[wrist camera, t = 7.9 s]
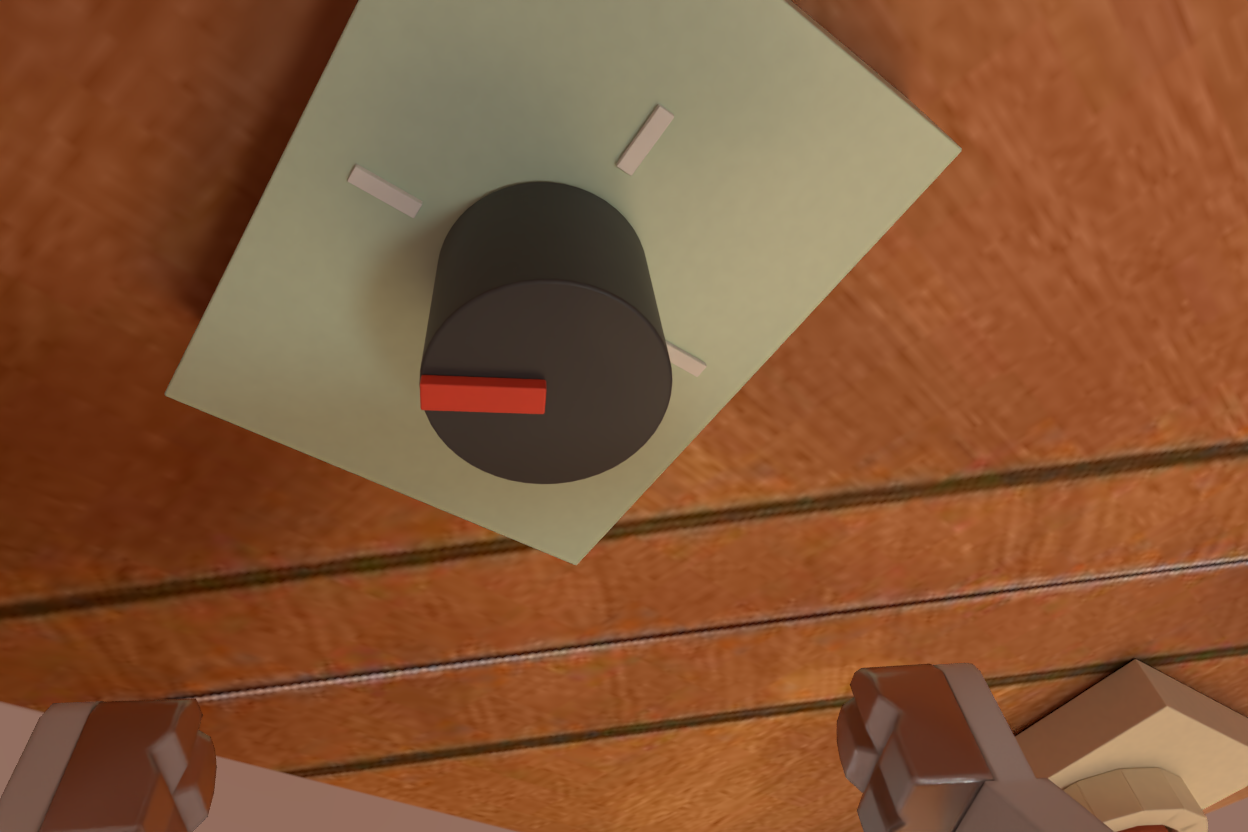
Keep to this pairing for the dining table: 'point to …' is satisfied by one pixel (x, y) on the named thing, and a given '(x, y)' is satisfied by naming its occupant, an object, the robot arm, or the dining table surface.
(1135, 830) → the button
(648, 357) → the knob
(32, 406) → the dining table surface
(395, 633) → the dining table surface
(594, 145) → the panel
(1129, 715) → the button box
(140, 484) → the dining table surface
